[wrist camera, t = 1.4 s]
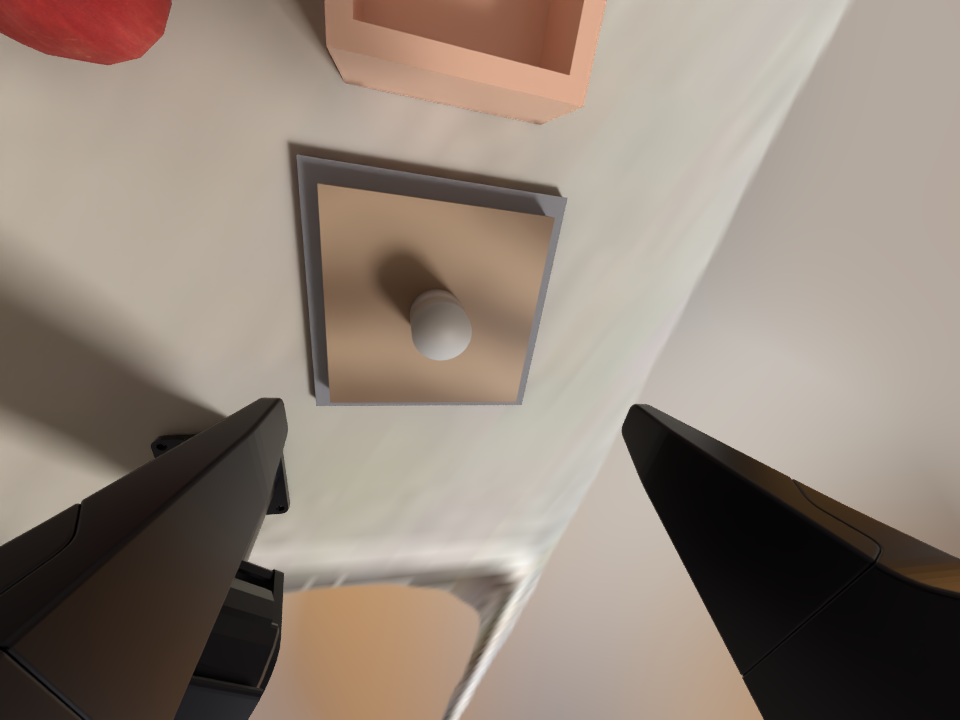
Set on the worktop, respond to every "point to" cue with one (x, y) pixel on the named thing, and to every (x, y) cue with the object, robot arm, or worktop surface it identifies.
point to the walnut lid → (427, 296)
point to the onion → (86, 27)
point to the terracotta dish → (470, 51)
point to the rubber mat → (415, 186)
